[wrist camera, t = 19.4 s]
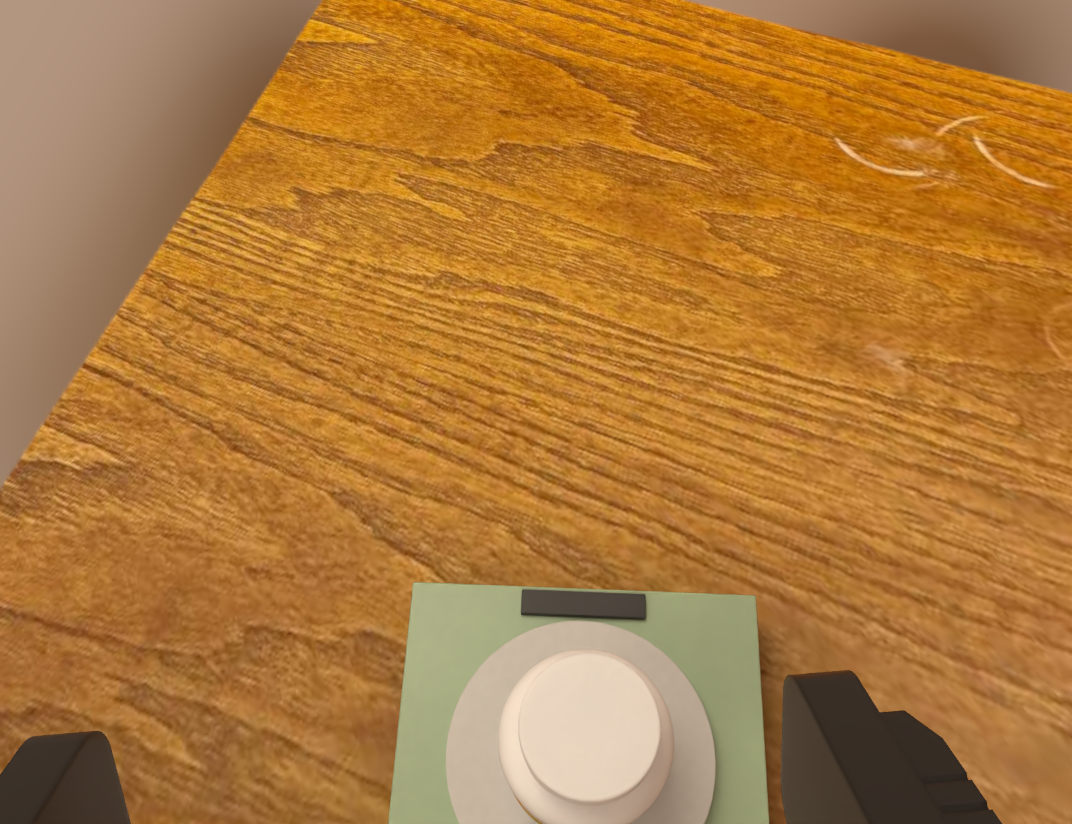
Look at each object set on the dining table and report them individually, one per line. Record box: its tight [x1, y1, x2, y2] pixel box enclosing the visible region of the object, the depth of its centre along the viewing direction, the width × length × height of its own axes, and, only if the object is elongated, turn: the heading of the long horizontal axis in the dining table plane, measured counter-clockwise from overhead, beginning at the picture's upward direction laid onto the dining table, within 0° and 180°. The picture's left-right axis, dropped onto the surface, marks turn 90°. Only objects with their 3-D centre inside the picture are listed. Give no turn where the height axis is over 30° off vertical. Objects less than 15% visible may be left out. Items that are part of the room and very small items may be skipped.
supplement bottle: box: [498, 649, 674, 824], centre depth 30 cm, size 5×5×10 cm
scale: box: [388, 582, 769, 824], centre depth 36 cm, size 14×13×4 cm
